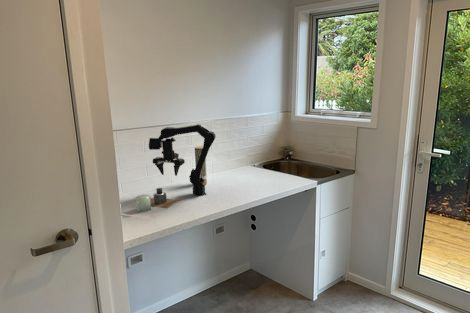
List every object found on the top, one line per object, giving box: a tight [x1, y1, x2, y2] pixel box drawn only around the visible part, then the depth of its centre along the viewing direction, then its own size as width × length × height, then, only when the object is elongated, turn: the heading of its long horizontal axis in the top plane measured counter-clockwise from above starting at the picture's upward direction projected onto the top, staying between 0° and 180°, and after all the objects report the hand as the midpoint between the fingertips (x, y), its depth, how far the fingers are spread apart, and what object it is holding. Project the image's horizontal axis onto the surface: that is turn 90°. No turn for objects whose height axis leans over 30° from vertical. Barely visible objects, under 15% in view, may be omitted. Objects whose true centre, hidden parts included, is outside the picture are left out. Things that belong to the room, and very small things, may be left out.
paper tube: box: [194, 145, 208, 186], centre depth 234 cm, size 7×7×25 cm
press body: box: [152, 192, 168, 205], centre depth 201 cm, size 7×8×5 cm
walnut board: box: [150, 197, 182, 209], centre depth 200 cm, size 18×14×1 cm
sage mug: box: [135, 193, 152, 213], centre depth 189 cm, size 7×9×8 cm
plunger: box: [155, 187, 165, 196], centre depth 199 cm, size 4×4×7 cm
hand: (169, 175), depth 211 cm, fingers open, 9 cm apart
